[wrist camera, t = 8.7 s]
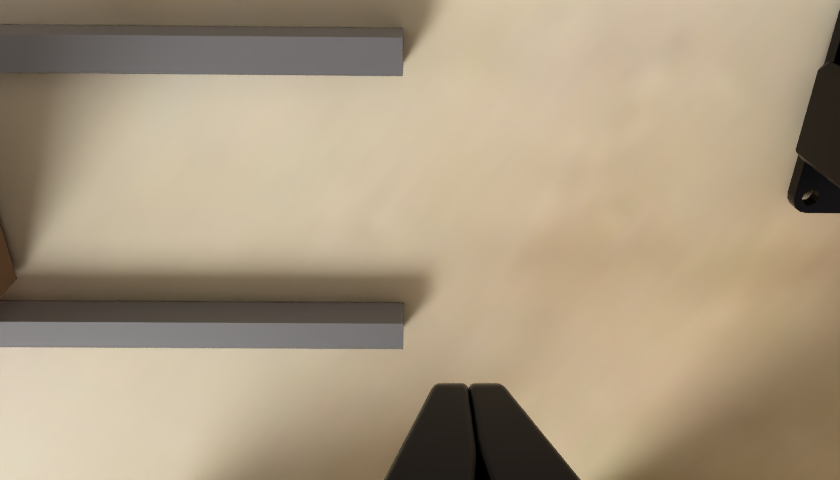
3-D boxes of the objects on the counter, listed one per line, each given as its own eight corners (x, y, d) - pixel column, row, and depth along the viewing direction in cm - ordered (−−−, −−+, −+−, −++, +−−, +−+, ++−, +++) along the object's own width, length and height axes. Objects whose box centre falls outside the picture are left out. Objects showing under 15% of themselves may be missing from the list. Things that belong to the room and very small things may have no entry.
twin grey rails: (402, 27, 19) (400, 54, 17) (403, 327, 24) (402, 385, 21) (-268, 22, 19) (-377, 47, 16) (-133, 324, 24) (-202, 382, 21)
